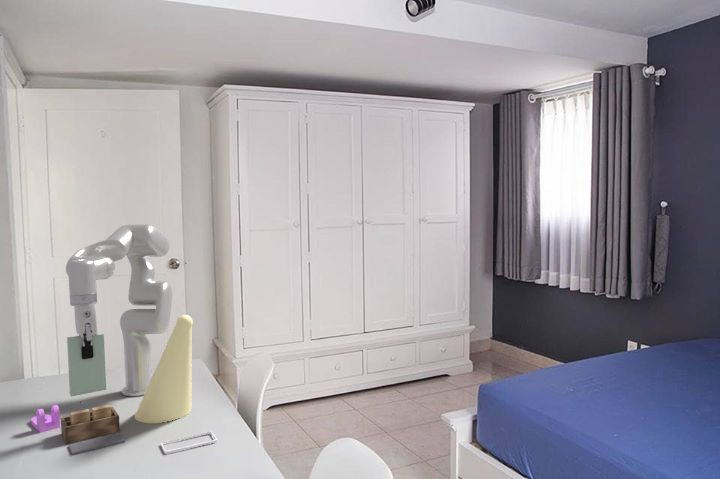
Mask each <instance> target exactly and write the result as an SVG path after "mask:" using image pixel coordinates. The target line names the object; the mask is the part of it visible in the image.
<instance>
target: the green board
mask: <svg viewBox="0 0 720 479" xmlns="http://www.w3.org/2000/svg"><path fill="white" fill-rule="evenodd" d="M84 336H86V335H84ZM84 340H85V339H84ZM66 344H67V360H68V361H67V363H68V383H69V387H68V388H69V395H70V397H77V396H82V395H87V394H92V393H97V392H101V391H105V390H107V379H106V378H107V377H106V376H107V375H106V353H105V333H103V332H98V334H97V335H96V336H95V335H94V334H93V333H92V344H93V356H94V357H93V358H89V359H82V351H81V347H82V337H80V336H79V335H75V336H70V337H69V336H68V337H66Z"/></svg>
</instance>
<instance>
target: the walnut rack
mask: <svg viewBox="0 0 720 479" xmlns="http://www.w3.org/2000/svg"><path fill="white" fill-rule="evenodd" d="M120 426H121V425H120V415H119V414H118V412H117V411H116V409H115V408H114V407H113V406H111V417H107V418H103V419H98V420H94V421H92V411H90V421H89V422H85V423H80V424H76V425H71V420H70V415H69V416H63V417H60V431H61V432H60V433H61V435H62V438H63V441H64V444H65V445H69V444H73V443H77V442H81V441H86V440H90V439H94V438H98V437H102V436H106V435H111V434H115V433H119V432H121V429H120V428H121V427H120Z"/></svg>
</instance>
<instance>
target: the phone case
mask: <svg viewBox="0 0 720 479" xmlns="http://www.w3.org/2000/svg"><path fill="white" fill-rule="evenodd" d="M205 434H212V435H211V436H213V437H214V439H213V440H208V441H204V442H200V443H195V444H191V445H190V444H189V445H188V446H187V445H186V446H182V447H178V448H173V449H168V450H166V449H165V447H164V445H168V443H171V442H176V441H181V440H183V441H186V439H188V440H190V439H189V438H192V439H194V438H193V437H197V436H201V435H205ZM201 437H202V436H201ZM197 438H198V437H197ZM217 441H218V438H217V437H216V435H215V434H214V433H213V431H205V432H202V433H198V434H193V435H189V436H188V435H187V436H183V437H180V438H174V439H169V440H166V441H161V442H160V448H161V449H162V452H163V453H164V455H171V454H174V453H175V454H176V453H180V452H183V450H184V451H188V450H191V449H190V448H193V449H195V448H194V447H197V448H199V447H198V446H201V447H203V446H202V445H206V444H210V443H214V444H216V443H215V442H217ZM217 443H218V442H217ZM210 445H211V444H210ZM206 446H207V445H206ZM187 449H188V450H187Z"/></svg>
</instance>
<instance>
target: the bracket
mask: <svg viewBox="0 0 720 479" xmlns="http://www.w3.org/2000/svg"><path fill="white" fill-rule="evenodd" d="M35 411H36V413H35V414H36V415H35V416H33V417H32V418H31V419H30V424H31V425H32V426H33V427H34V428H35V429H36V431H38V432H39V433H40V432H41V433H45V432H48V431H52V430H56V429H59V428H60V429H61V416H60V407H59V405H58V404H55V405H52V406H51V407H50V414H45V411H44V408H38V409H36V410H35Z"/></svg>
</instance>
